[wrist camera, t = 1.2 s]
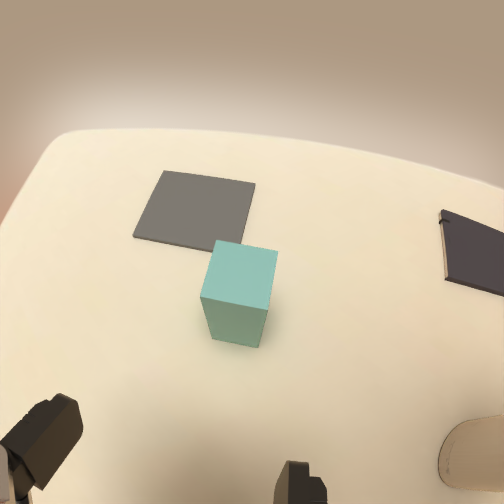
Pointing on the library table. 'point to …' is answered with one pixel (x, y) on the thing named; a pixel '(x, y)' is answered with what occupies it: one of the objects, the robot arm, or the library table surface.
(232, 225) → the charcoal mat
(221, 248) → the teal rectangular block
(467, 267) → the notebook
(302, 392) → the library table surface
